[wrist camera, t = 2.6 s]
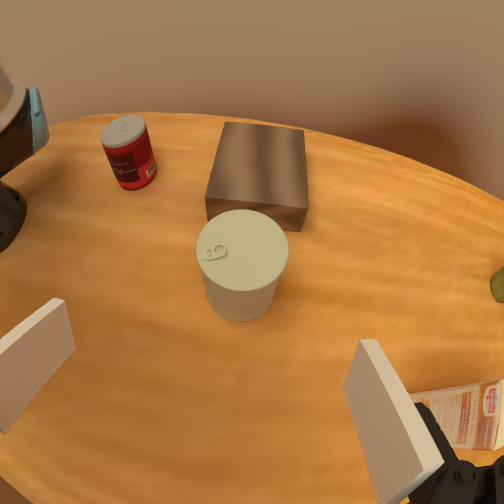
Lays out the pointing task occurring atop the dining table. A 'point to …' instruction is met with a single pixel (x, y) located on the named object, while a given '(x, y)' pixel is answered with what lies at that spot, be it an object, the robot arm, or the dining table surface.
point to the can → (241, 262)
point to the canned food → (129, 151)
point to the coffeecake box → (469, 413)
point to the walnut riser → (260, 174)
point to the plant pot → (498, 285)
